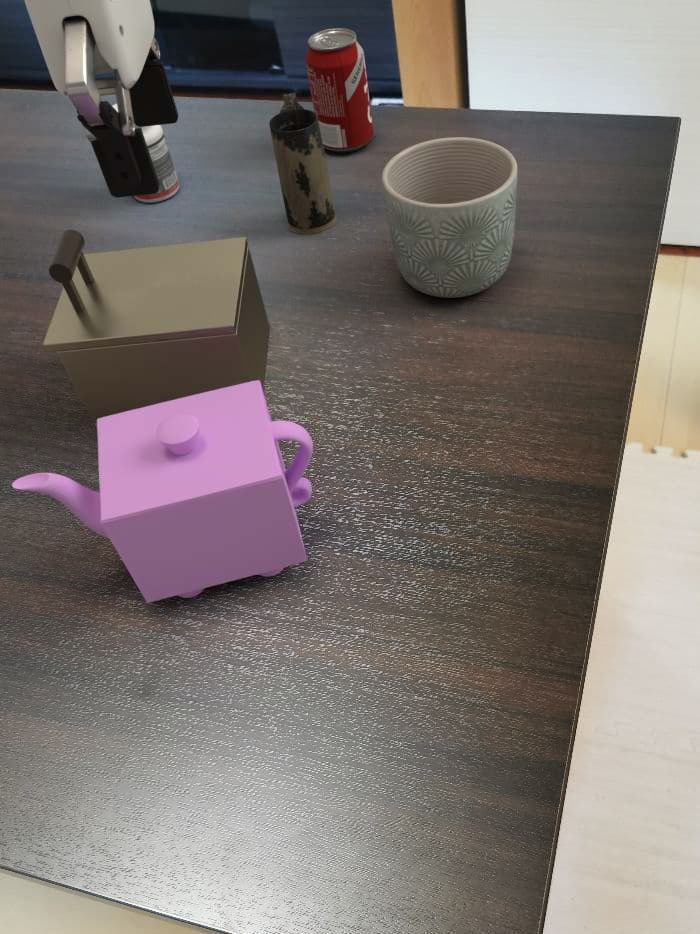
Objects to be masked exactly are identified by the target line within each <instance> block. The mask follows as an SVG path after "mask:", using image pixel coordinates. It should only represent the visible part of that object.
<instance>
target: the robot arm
mask: <svg viewBox="0 0 700 934" xmlns="http://www.w3.org/2000/svg"><path fill="white" fill-rule="evenodd" d="M23 1H24V4H25V6H26V10H27V12H28V15H29V19H30V22H31V24H32V27H33V30H34V33H35V36H36V39H37V41H38V45H39V46H40V50H41V53H42V56H43V58H44V62H45V64H46V66H47V70H48V72H49V75H50V78H51V80H52V84H53V85H54V87H55V89H56V90H57V91H58V92H59V93H60V94H61V95H63V96H65V97H68V98H69V100H70V102H71V103H72V105H73V106H74V108H75V109H76V113H77V115H76V117H77V120H78V122H80V123H81V125H82V126H83V130H84V134H85V136H86V138H87V140H88V141H89V142H90V144H91V147H92V149H93V152H94V155H95V157H96V161H97V163H98V166H99V168H100V170H101V173H102V176H103V178H104V181H105V184H106V186H107V189H108V191H109V194H110V195H111V196H112V197H114V198H117V199H118V198H119V199H120V198H129V197H134V196H139V195H148V194H156V193H157V192H158V190H159V187H160V184H159V181H158V177H157V174H156V171H155V168H154V165H153V162H152V159H151V156H150V153H149V150H148V147H147V144H146V141H145V138H144V135H143V132H142V129H141V128H136V129H135V126H134V124H135V125H136V126H138V127H145V126H154V125H161V126H163V125H171V124H176V123H177V122H178V119H179V111H178V108H177V104H176V101H175V97H174V95H173V91H172V88H171V85H170V81H169V77H168V73H167V70H166V67H165V64H164V61H163V60H161V51H160V46H159V43H158V41H157V39H156V38H155V19H154V13H153V8H152V5H151V0H23ZM110 73H111V74H113V73H114V76H110V77H109V76H108V77H100V78H96V75H102V74H110ZM110 95H115V101H116V103H117V107H118V112H117V111H116V110H115V109H114V108H113V107H112V106H113V105H112V104H111V103H110V102H109V101H108V100H104V101H103V100H102V99H101V96H110Z"/></svg>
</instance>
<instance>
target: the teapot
mask: <svg viewBox="0 0 700 934" xmlns="http://www.w3.org/2000/svg"><path fill="white" fill-rule="evenodd" d="M96 433H97V436H96V437H97V459H98V460H97V461H98V484H99V485H98V487H99V492H97V491H95V490H92V489H89V488H88V487H86V486H83V485H82V484H80V483H79V482H77V481H76V480H73V479H72V478H69V477H67V476H66V475H65V476H64V475H62V474H57V473H53V472H36V473H31V474H27V475H24V476H21V477H19V478H17V479H16V480H14V481H13V482H12V484H11V486H12V488H13V489H15V490H19V491H25V492H34V493H41V494H44V495H46V496H49V497H52V498H54V499H55V500H57V501H59V502H60V503H61V504H62V505H64V506H65V507H66V508H67V509H69V510H70V512H72V514H73V515H75V516H76V517H77V518H78V519H79V521H81V522H82V523H83V524H84V525H85V526H86V527H87V528H89V529H90V530H91V531H93V532H95V534H98V535H99V536H102V537H104V538H106V539H109V540H110V542H111V543H112V546H113V547H114V549H115V551H116V552H117V554H118V555H119V558H120V559H121V560H122V562H123V564H124V566H125V567H126V569H127V571H128V573H129V574H130V576H131V578H132V580H133V581H134V583H135V584H136V586H137V588H138V589H139V592H140V593H141V595H142V597H143V598H144V600H145V602H146V604H149V603H152V602H153V603H154V602H156V601H160V600H164V599H168V598H172V597H175V596H178V597H181V598H185V599H187V598H193V597H196V596H199V594H201V593H202V592H203V591H204V590H205V589H206V588H210V587H213V586H218V585H222V584H225V583H229V582H232V581H236V580H240V579H244V578H245V579H246V578H249V577H252V576H256V575H259V576H262V577H265V578H267V577H273V576H276V575H278V574H279V573H281V572H282V571H283V570H284V569H285V568H286V567H290V566H294V565H298V564H300V563H304V562H308V556H307V553H306V548H305V545H304V541H303V535H302V532H301V528H300V523H299V520H298V515H297V511H296V507H299V506H302V505H304V504H306V503H307V502H309V500H310V499H311V497H312V493H313V486H312V483H311V482H310V480H309V479H308V478H306V477H305V476H303V475H304V473H305V472H306V470H307V468H308V467H309V464H310V463H311V460H312V457H313V452H314V444H313V440H312V437H311V435H310V434H309V432H308V430H306V429H305V428H304V427H303V426H302V425H300V424H298V423H297V422H293V421H289V420H280V419H279V420H272V417H271V414H270V411H269V406H268V404H267V400H266V397H265V393H264V389H263V390H262V386H261V383H260V381H259V380H256V381H252V382H247V383H243V384H238V385H234V386H230V387H226V388H221V389H217V390H213V391H209V392H204V393H200V394H196V395H192V396H188V397H183V398H179V399H175V400H171V401H167V402H163V403H159V404H155V405H150V406H146V407H142V408H138V409H134V410H130V411H126V412H122V413H118V414H114V415H110V416H106V417H102V418H99V419H97V429H96ZM279 441H291V442H296V443H298V444H299V446H298V449H297V452H296V454H295V456H294V457H293V459H292V461H291V462H290V464H289V465H288V466H287V469H286V465H285V461H284V459H283V455H282V452H281V448H280V444H279Z"/></svg>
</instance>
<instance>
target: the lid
mask: <svg viewBox="0 0 700 934" xmlns="http://www.w3.org/2000/svg"><path fill="white" fill-rule="evenodd" d="M85 243H86V242H85V237H84V236H83V235H82V233H80V232H79V231H78V230H75V229H66V230H64V231H63V232H62V234H61V236H60V240H59V243H58V245H57V247H56V250H55V252H54V254H53V257H52V259H51V262H50V265H49V267H48V273H49V276H50V277H51V279H52V280H54V281H55V282H57V283H60V284H61V285H62V286H63V287H62V291H61V294H60V296H59V299H58V302H57V304H56V307H55V310H54V311H53V315H52V319H51V321H50V323H49V327H48V329H47V332H46V334H45V338H44V340H43V342H42V346H43V348H44V350H45V352H46V353H51V352H57V351H63V350H73V349H83V348H93V347H103V346H113V345H123V344H132V343H142V342H152V341H162V340H172V339H182V338H192V337H202V336H212V335H221V334H231V333H236V329H237V322H238V314H239V307H240V300H241V292H242V285H243V278H244V270H245V263H246V255H247V248H248V246H249V243H248V239H247V237H246V236H242V237H233V238H223V239H214V240H203V241H194V242H185V243H175V244H168V245H167V244H166V245H158V246H157V245H156V246H148V247H138V248H128V249H121V250H120V249H119V250H111V251H101V252H92V253H83V249H84V246H85Z"/></svg>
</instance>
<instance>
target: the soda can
mask: <svg viewBox="0 0 700 934" xmlns="http://www.w3.org/2000/svg"><path fill="white" fill-rule="evenodd" d="M307 44H308V49H307V52H306V55H305V66H306V72H307V78H308V82H309V83H308V84H309V89H310V94H311V101H312V106H313V112H315V113H316V114H317V116H318V121H319V127H320V132H321V137H322V142H323V148H324V149H326V150H328V151H332V152H334V153H339V154H347V153H352V152H356V151H359V150H360V149H362V148H364V147H365V146H366V145H368V144H369V143H370V142H371V141H372V140H373V139H374V127H373V126H374V125H373V119H372V111H371V103H370V94H369V93H370V92H369V86H368V84H369V83H368V77H367V68H366V60H365V52H364V48H363V47H362V46H361V45H360V43H359V42H358V41H357V34H356V32H355V31H353V30H352V29H349V28H345V27H344V28H342V27H336V28H328V29H323V30H320V31H317V32H315V33H313V34H312V35H311V36H309V38H308V40H307Z"/></svg>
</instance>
